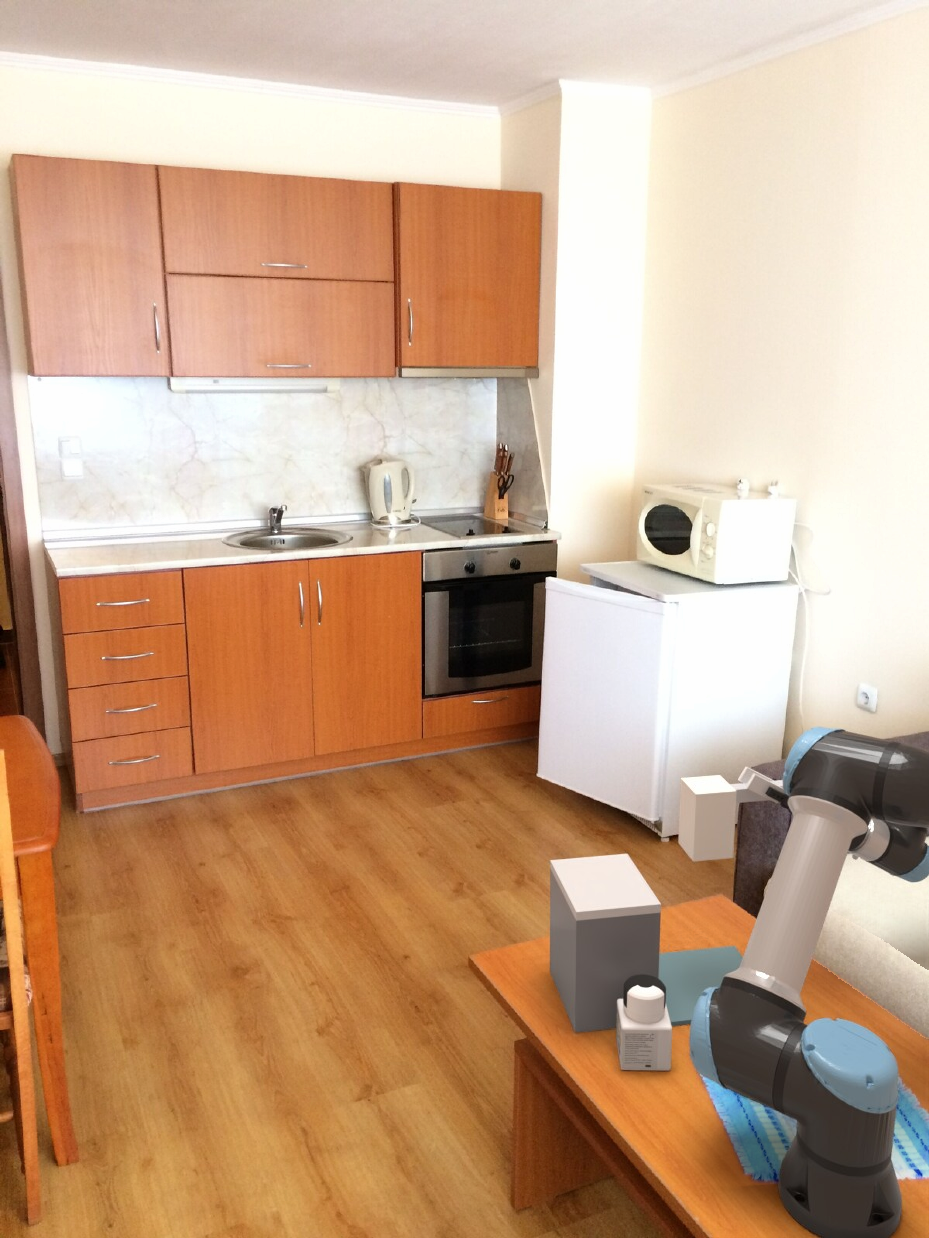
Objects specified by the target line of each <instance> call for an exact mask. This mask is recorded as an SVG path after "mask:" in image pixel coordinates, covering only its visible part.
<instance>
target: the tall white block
mask: <svg viewBox="0 0 929 1238" xmlns="http://www.w3.org/2000/svg"><path fill="white" fill-rule="evenodd" d="M782 780H783V779H781V780H780V779H779V780H778V779H777V781H770V782H772V783H774V784H776V785H778V786H780V787H782V788H783V781H782ZM746 785H747V783H742V782H740V783H729V782H728V781H726V779H725V778H724V777H723V776H722V775H720V774H715V775H704V776H692V777H681V778H680V790H679V795H680V796H679V817H678V818H679V820H678V842H677V843H678V844H679V846H680V847H681V848H682V850H683V851H684V852H685V853H686V855H687V856H688V857H689V858H690V859H691V860H692V862H693V863H694V862H702V861H712V860H725V859H726V860H727V859H733V858H734V848H735V832H736V831H735V830H736V828H735V827H736V813H737V811H736V810H737V804H740V803H749V802H750V803H753V802H765V801H770V800H769V799H767V798H765V797H763V796H761V795H759V794H757V793H755V792H753V791H751V790H749V789H747V788H746V787H745V786H746ZM784 794H786V793H784Z"/></svg>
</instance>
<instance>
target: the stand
mask: <svg viewBox="0 0 929 1238" xmlns="http://www.w3.org/2000/svg"><path fill="white" fill-rule="evenodd" d="M549 862H550V863H549V865H550V867H549V869H550V872H549V873H550V874H549V876H550V877H549V973H550V972H551V973H550V975H552V976H551V978H552V980H554V981H553V983H554V986H555V988H556V991H557V992H558V995H559V998H560V1000H561V1002H562V1005H563V1007H564V1010H565V1012H566V1014H567V1017H568V1020H569V1022H570V1024H571V1027H572V1029H573V1031H574V1033H575V1034H577V1033H578V1034H579V1033H586V1032H587V1033H588V1032H595V1031H597V1032H598V1031H604V1030H606V1031H607V1030H616V1023H617V1000H618V999H623V991H624V983H625V981H626V980H627V979H628V978H630V977H631V976H634V975H640V974H644V975H651V976H654V977H656V978H658V979H659V953H660V950H661V949H660V948H661V947H660V946H661V945H660V944H661V939H660V938H661V913H662V904H661V902H660V900H659V899H658V897H657V896H656V894H655V893H654V891H653V890H652V888H651V887H650V885H649V884H648V883H647V881H646V879H645V878H644V877H643V875H642V873H641V872H640V870H639V869H638V868H637V866H636V864H635V863H634V861H633V860H632V858H631V857H630V855H629V854H628V853H620V854H619V853H618V854H609V855H597V856H584V857H574V858H573V857H572V858H564V859H563V858H560V859H550V861H549Z"/></svg>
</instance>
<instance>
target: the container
mask: <svg viewBox="0 0 929 1238" xmlns="http://www.w3.org/2000/svg"><path fill="white" fill-rule="evenodd" d="M615 1031H616V1032H615V1035H616V1036H615V1040H616V1045H617V1046H616V1047H617V1054H618V1058H619V1065H620V1069H621V1070H622V1071H666V1072H667V1071H670V1070H671V1069H672V1046H673V1045H672V1043H673V1041H672V1040H673V1039H672V1038H673V1026H671V1022H670V1018H669V1014H668V1010H667V1006H666V987H665V985H664V983H663V982H662V981H661V980H660V979H658V978H656V977H654V976H651V975H644V974H640V975H634V976H631V977H630V978H628V979H627V980H626V981H625V983H624V991H623V999H618V1000H617V1023H616V1029H615Z"/></svg>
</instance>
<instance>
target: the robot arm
mask: <svg viewBox="0 0 929 1238" xmlns="http://www.w3.org/2000/svg"><path fill="white" fill-rule="evenodd" d="M740 773H741V774H740V775H739V777H738V779H737V781H739V782H740V783H747V785H746V786H745V787H746V788H747V789H749V790H751V791H753V792H755V793H757V794H759V795H761V796H763V797H765V798H767V799H769V800H768V801H771V802H774V803H775V804H777V805H778V804H779V805H780V806H781V807H782V808H785V810H787V812H788V813H789V814H791V815H793V817H792V821H791V823H790V826H789V829H788V831H787V834H786V837H785V840H784V842H783V845H782V847H781V851H780V854H779V857H778V859H777V862H776V864H775V867H774V870H773V872H772V876H771V877H770V881H769V884H768V887H767V889H766V892H765V895H764V898H763V900H762V904H761V906H760V908H759V911H758V914H757V917H756V921H755V922H754V925H753V928H752V931H751V933H750V937H749V938H748V939H749V940H748V943H747V945H746V948H745V950H744V954H743V955H742V956H743V959H742V961H741V964H740V967H739V968H738V969H737V970H735V971H733V972H730V973H728V974H726V975H724V977H723V980H722V983H721V986H720V988H718V987H709V988H707V989H705V990H704V991H703V992H702V996H700V997H699V999H698V1001H697V1003H696V1006H695V1008H694V1012H693V1016H692V1021H691V1024H690V1028H689V1037H688V1039H689V1040H688V1041H689V1043H688V1045H689V1055H690V1058H691V1062H692V1064H693V1066H694V1069H695V1070H696V1071H697V1073H699V1075H701V1076H702V1077H704V1078H706V1079H708V1080H710V1081H712V1082H714V1083H715V1084H718V1085H719V1086H720V1087H721V1088H722V1089H725V1090H730V1091H732V1092H734V1093H737V1094H738V1095H740V1096H743V1097H745V1098H748V1099H749V1100H752V1101H754V1102H756V1103H759V1104H761V1105H762V1106H765V1107H767V1108H769V1109H771V1110H773V1111H775V1112H778V1113H780V1114H783V1115H785V1116H786V1117H789V1118H792V1119H794V1120H796V1130H795V1136H793V1137H794V1138H793V1139H792V1141H791V1143H790V1146H789V1147H788V1148H787V1151H786V1153H785V1155H784V1156H783V1158H782V1161H781V1163H780V1166H779V1171H778V1172H779V1173H778V1186H777V1187H778V1188H777V1189H778V1192H779V1193H778V1194H779V1198H780V1200H781V1202H782V1204H783V1206H784V1207H785V1209H786V1210H787V1212H788V1213H789V1215H790V1216H792V1217H793V1219H794V1220H795V1221H796V1222H798V1223H799V1224H800V1226H803V1227H804V1228H805V1229H807V1231H810V1232H812V1233H813V1234H815V1235H817V1236H819V1237H821V1238H889V1237H891V1236H892V1235H893V1234H894V1233H895V1232H896V1230H897V1229H898V1228H899V1225H900V1222H901V1216H902V1205H903V1199H902V1192H901V1188H900V1184H899V1182H898V1177H897V1175H896V1170H895V1167H894V1164H893V1160H892V1153H893V1144H894V1135H895V1125H896V1116H897V1109H898V1108H897V1106H898V1103H899V1101H900V1100H899V1099H900V1090H899V1088H900V1087H899V1086H900V1085H899V1065H898V1061H897V1059H896V1057H895V1055H894V1054H893V1053H892V1051H891V1049H890V1046H888V1045H887V1043H885V1041H884V1040H883V1039H881V1038H880V1037H879V1035H877V1033H876V1034H875V1033H874V1032H873V1031H871V1030H870V1029H869V1028H867V1027H865V1026H862V1025H860V1024H859V1023H856V1022H855V1021H850V1020H846V1019H842V1018H835V1020H833V1019H832V1018H830V1017H823V1018H817V1019H815V1020H813V1021H812V1022H810V1023H809V1024H806V1023H804V1022H805V1018H806V1016H807V1012H808V1011H807V1009H806V1006H805V1005H804V1003H803V1000H802V998H801V993H802V989H803V987H804V984H805V981H806V977H807V975H808V973H809V968H810V965H811V963H812V960H813V957H814V953H815V950H816V949H817V944H818V942H819V939H820V936H821V933H822V929H823V927H824V925H825V921H826V918H827V915H828V912H829V910H830V906H831V903H832V900H833V897H834V894H835V891H836V888H837V885H838V883H839V880H840V877H841V873H842V871H843V868H844V864H845V862H846V858H847V856H848V853H849V854H851V856H852V859H853V860H855V861H856V860H858V859H859V858H860V860H863V861H865V862H866V863H868V864H870V865H873V866H875V867H877V868H878V869H881V870H882V871H884V872H886V873H888V874H889V875H891V876H892V877H897V878H899V879H901V880H904V881H907V882H909V883H919V882H923V881H924V880H926V878H928V877H929V845H928V843H927V842H926V840H927V839H926V838H927V835H928V832H929V750H927V749H925V748H922V747H920V746H917V745H916V746H915V745H913V744H909V743H905V742H904V743H901V742H897V741H894V740H893V741H892V740H889V739H888V740H887V739H884V738H880V737H879V738H878V737H875V736H871V735H870V736H869V735H866V734H860V733H856V732H853V731H852V732H851V731H847V730H846V729H843V728H831V727H824V726H816V727H815V726H814V727H812V728H810V729H807V730H806V731H804V732H803V733H802V734H801V735H800V736H798V737H797V739H796V740H795V742H794V744H793V745H792V747H791V749H790V751H789V753H788V754H787V759H786V760H785V763H784V772H783V773H782V779H781V780H782V781H783V788H782V787H780V786H778V785H776V784H774V783H772V782H770V781H777V780H778V779H777V778H774V777H772V778H770V777H768V776H766V775H764V774H762V773H760V772H758V771H756V770H755V769H753V768H750V767H749V766H745V767H744V768H743V770H742V772H740ZM784 793H786V794H784Z"/></svg>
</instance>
